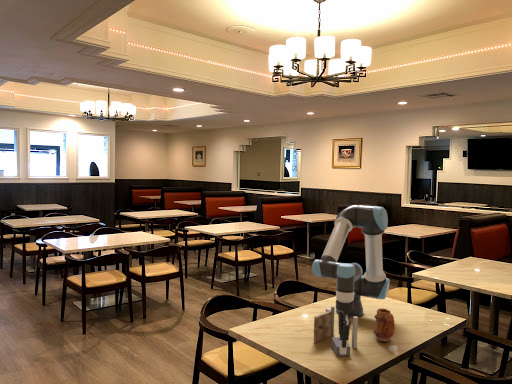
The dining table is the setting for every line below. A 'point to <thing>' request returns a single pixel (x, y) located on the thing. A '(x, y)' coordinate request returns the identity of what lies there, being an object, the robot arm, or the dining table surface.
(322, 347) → the dining table surface
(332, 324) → the doorframe
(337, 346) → the block
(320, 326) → the door
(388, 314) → the mug
